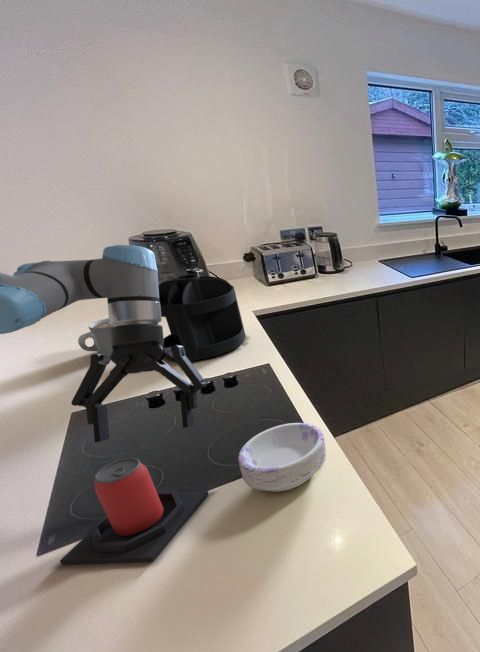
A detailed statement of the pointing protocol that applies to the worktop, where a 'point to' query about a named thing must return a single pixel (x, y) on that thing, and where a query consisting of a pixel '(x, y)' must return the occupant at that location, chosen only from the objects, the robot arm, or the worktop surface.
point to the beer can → (128, 496)
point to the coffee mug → (98, 337)
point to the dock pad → (141, 546)
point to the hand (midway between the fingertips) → (146, 433)
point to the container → (201, 315)
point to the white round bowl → (282, 457)
